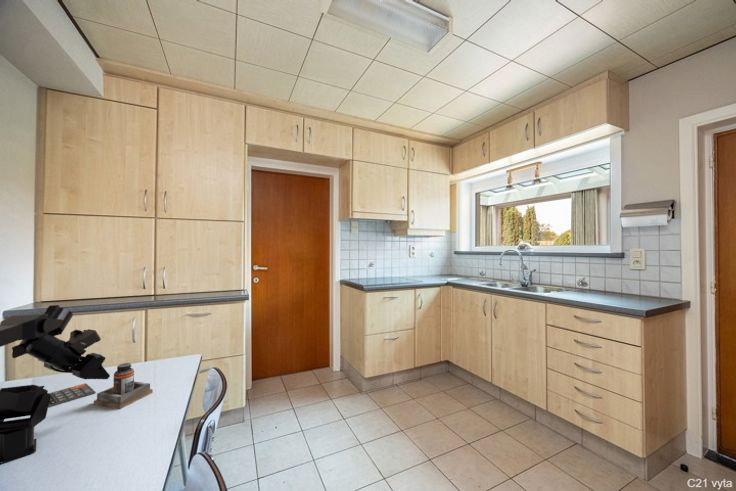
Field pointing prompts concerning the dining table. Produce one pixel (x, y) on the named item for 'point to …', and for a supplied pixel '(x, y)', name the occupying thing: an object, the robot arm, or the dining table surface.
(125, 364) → the supplement bottle
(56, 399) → the calculator
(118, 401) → the collar stand
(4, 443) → the robot arm
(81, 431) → the dining table surface
